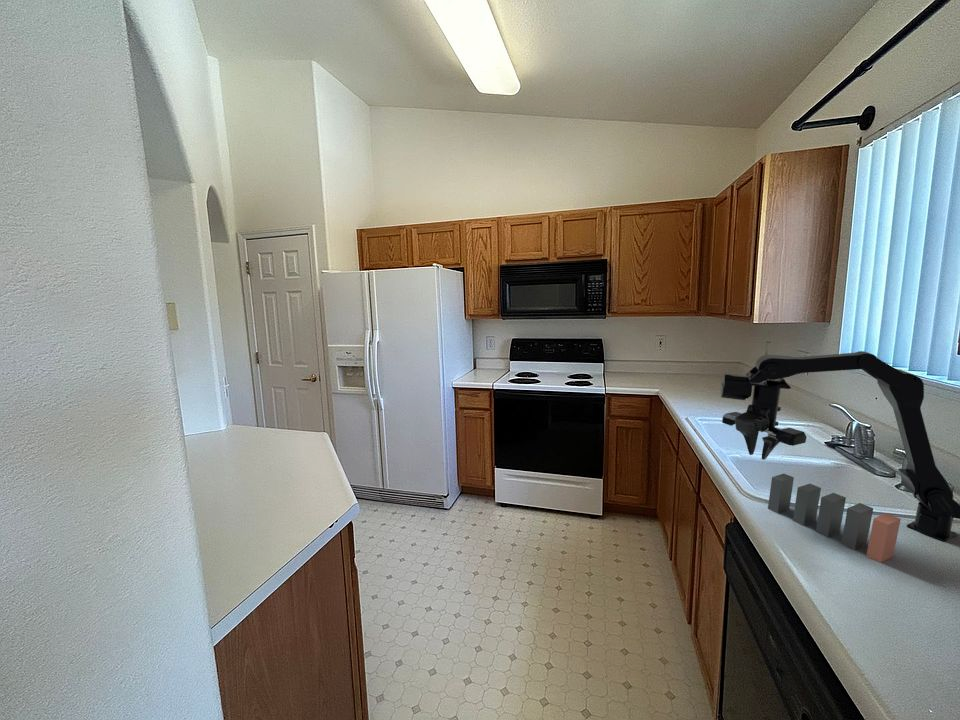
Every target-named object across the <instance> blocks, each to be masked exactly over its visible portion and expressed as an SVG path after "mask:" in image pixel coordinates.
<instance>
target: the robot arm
mask: <svg viewBox="0 0 960 720" xmlns="http://www.w3.org/2000/svg"><path fill="white" fill-rule="evenodd" d="M853 370H854V371H856V370H861V371H863V372H865V373H866V374H868V375H869V376H870V377H872V378H874V379H875V380H877V381H876V382H877V384H878V387H879V389H880V391H881V392H882V395H884V397H885V399H886V400H887V402H888V403H889V404H890V406H891V407H892V409H893V410H892V411H893V414H894V417H895V421H896V424H897V428H898V431H899V435H900V438H901V442H902V447H903V449H904V454H905V457H906V461H907V464H906V466H905V468H898V469H897V470H898V472H899V474H900V476H901V480H900V484H901V485H903V486H904V487H905V488H906V489H907V490H908V491H909V492H910V493H912V495H913V498H915V499H916V500H917V501H918V503H917V508H916V513H915V518H914V521H912V522H910V523H907V524H906V528H908V529H911V530H914V531H916V532H918V533H921V534H924V535H927V536H929V537H931V538H934V539H936V540H939V541H941V542H947V541H949V540H951V539H953V538H954V537H955V538H956V537H957V536H958V533H957V532H955V531H953V530H952V528H953V524H954V523H953V522H954V519H958V520H960V504H959V503H958V502H957V501H955V500H954V492H953V491H952V488H951V487H950V485H949V484H948V481H947V480H946V478H945V477H944V476H943V474H942V472H941V471H940V470H939V468H938V467H937V465H936V462H935V458H934V455H933V454H934V453H933V450H932V447H931V443H930V440H929V435H928V432H927V429H926V424H925V421H924V416H923V414H922V405H923V402H924V398H925V384H924V381H923V380H922V378H921V377H919V376H918V375H915V374H913V373H911V372H907V371H905V370H902V369H898V368H895V367H893V366H891V365H890V364H888V363H887V362H885V361H883V360H881V359H880V358H878V357H877V356H876V355H875V354H873V353H871V352H867V351H864V350H863V351H860V350H859V351H856V352H847V353H835V354H821V355H809V356H790V355H789V356H788V355H781V354H779V355H777V354H764V355H762V356H760V357H759V358H758V359H757V360H756V362H755V366H753V368H751V369H750V370H749V371H748V372H747V373H746V374H745V375H740V374H732V373H726V372H725V373H724V374H723V379H722V382H721V387H720V398H721V399H729V400H731V399H732V400H739V401H740V400H741V401H746V399H749V398H751V397H752V400H751V403H750V404H748V405H747V409H746V411H745V412H738V411H732V412H725V414H724V415H723V416H722V420H721V422H722V424H724V425H728V426H734V425H735V430H736V431H738V432H739V433H740V434H742V436H743V439H744V440H745V441H744V442H745V445H746V448H747V451H748V454H749V455H750V456H753V455H754V452H755V450H756V447H757V442H758V441H757V440H758V438H759V437H758V436H759V433H764V432H765V433H766V434H767V436H762V438H761V439H762V441H763V446H762V452H761V460H764V461H765V460H766V459H767V458H768V457H769V455H770V454H771V453H772V452H773V450H774V449H775V448H776V446H778V445H779V444H780V443H782V444H785V445H788V446H793V447H794V446H798V445H802V444H805V443H806V442H807V435H806V433H805V431H803V430H799V429H795V428H792V427H786V428H785V427H784V428H782V429H781V428H778V426H779V421H777V415H778V412H780V411H781V409H782V407H781V406H779V403H780V396H781V389H784V390H785V389H786V390H790V389H791V388H792V387H791V386H790V385H789V383H787V382H786V379H785V378H790V377H793V376H795V375H799V374H805V373H806V374H807V373H821V372H822V373H823V372H825V373H826V372H836V371H838V372H839V371H853ZM752 388H753V389H752Z"/></svg>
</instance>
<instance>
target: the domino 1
mask: <svg viewBox="0 0 960 720" xmlns="http://www.w3.org/2000/svg"><path fill="white" fill-rule="evenodd" d="M794 480H795V478H794V476H792V475H789V474H787V473H781V474H777V475H774V476H772V477H771V484H770V489H769V496H768V497H769V498H768V503H767V504H768V505H767V509H768V510H770V511H772V512H774V513H776V514H779V513H782V512H784V511H788V510H790V506H791V499H792V494H793V487H794Z"/></svg>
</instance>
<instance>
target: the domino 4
mask: <svg viewBox="0 0 960 720" xmlns="http://www.w3.org/2000/svg"><path fill="white" fill-rule="evenodd" d="M873 511H874V507H871V506H869V505H866V504H863V503H862V502H860V503H857V504H854V505H851V506H848V507H847V509H846V515H845V520H844V525H843V526H844V527H843V531H842V537H841V542H840V543H841V545H843V546H845V547H847V548H848V549H851V550H853V551H856V550H858V549H860V548H862V547H864V546H866V545H867V544H868V538H869V536H870V535H869V534H870V530H871V525H872V524H871V523H872V520H873ZM867 546H868V545H867Z"/></svg>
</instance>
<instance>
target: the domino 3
mask: <svg viewBox="0 0 960 720" xmlns="http://www.w3.org/2000/svg"><path fill="white" fill-rule="evenodd" d="M846 499H847V497H845V496H843V495H840V494H837V493H836V492H831V493H829V494H827V495H824V496H820V502H819V503H820V504H819V508H818V514H817V515H818V516H817V520H816V521H817V523H816V528H815V532H816V533H818V534H820V535H823V536H824V537H826V538H831V537H832V536H834V535H836V534H839V533H840V532H841V529H842V522H843V518H844V512H845V504H846Z"/></svg>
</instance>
